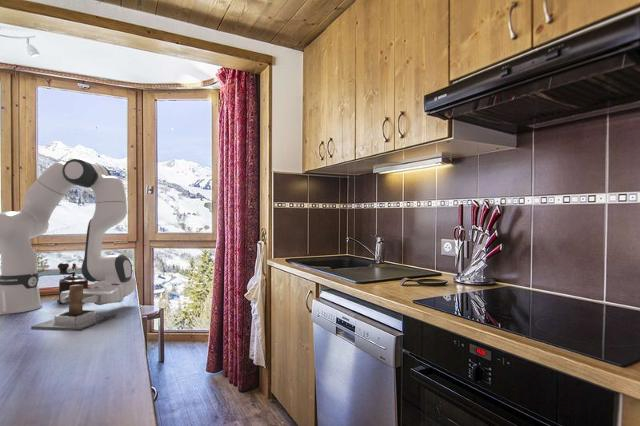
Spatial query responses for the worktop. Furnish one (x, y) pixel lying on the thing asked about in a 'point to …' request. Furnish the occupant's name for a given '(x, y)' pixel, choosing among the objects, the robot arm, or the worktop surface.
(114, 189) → the robot arm
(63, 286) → the manual coffee grinder
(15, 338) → the worktop surface
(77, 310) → the walnut peg
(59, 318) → the plate
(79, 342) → the worktop surface
